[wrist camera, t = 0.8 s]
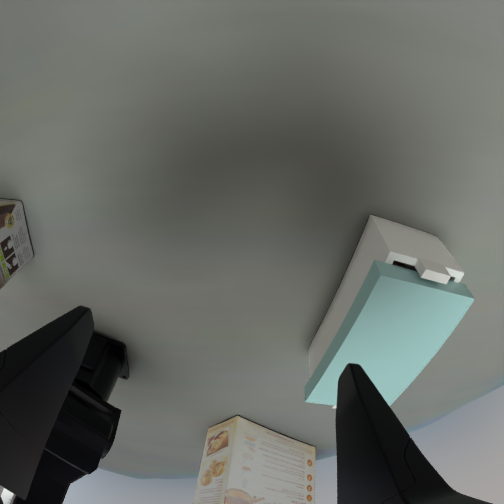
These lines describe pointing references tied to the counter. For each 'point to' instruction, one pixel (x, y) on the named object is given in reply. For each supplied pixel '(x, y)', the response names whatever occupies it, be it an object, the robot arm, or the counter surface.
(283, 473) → the coffeecake box
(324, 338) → the tub
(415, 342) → the lid
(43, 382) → the robot arm
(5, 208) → the coffee box
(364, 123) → the counter surface
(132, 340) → the counter surface
